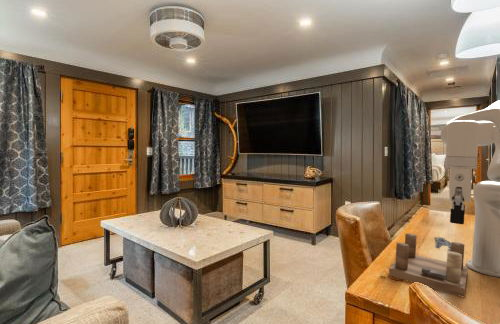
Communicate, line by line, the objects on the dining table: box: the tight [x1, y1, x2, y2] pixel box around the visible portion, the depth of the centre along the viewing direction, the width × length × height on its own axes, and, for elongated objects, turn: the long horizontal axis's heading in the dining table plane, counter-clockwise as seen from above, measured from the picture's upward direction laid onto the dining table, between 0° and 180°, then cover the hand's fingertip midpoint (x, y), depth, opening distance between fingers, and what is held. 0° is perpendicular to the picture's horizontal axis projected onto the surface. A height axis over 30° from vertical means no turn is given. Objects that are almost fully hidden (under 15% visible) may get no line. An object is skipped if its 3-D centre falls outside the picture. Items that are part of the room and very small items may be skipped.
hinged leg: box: [422, 251, 462, 283], centre depth 87 cm, size 10×4×8 cm, turn 54°
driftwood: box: [433, 236, 452, 252], centre depth 126 cm, size 21×7×2 cm, turn 147°
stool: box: [388, 232, 469, 297], centre depth 95 cm, size 20×20×10 cm
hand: (457, 219), depth 84 cm, fingers open, 9 cm apart
